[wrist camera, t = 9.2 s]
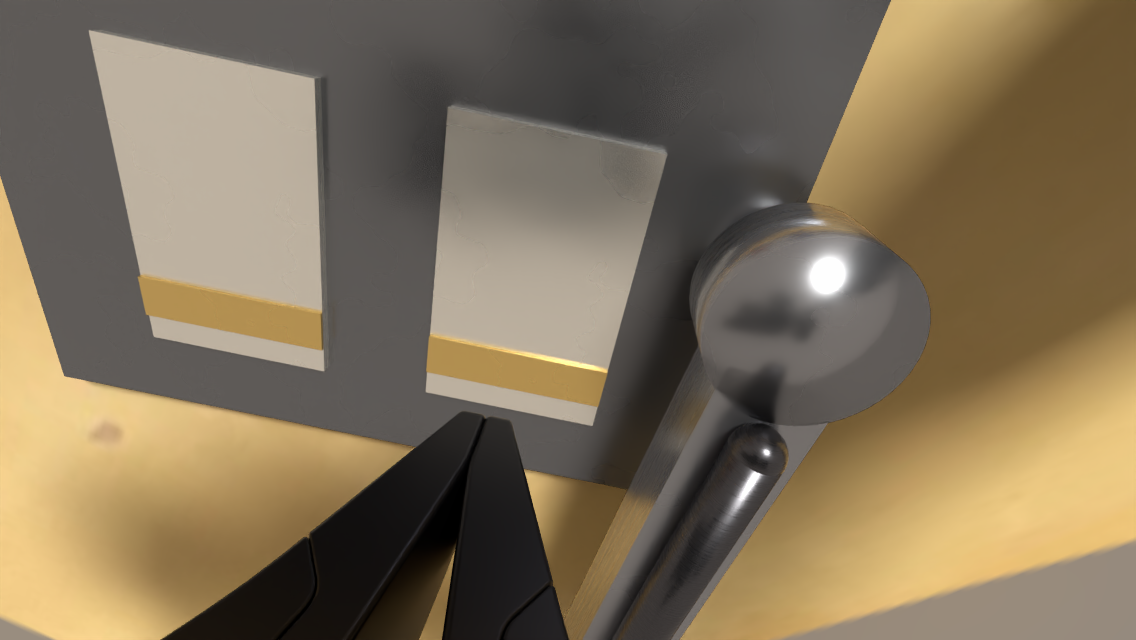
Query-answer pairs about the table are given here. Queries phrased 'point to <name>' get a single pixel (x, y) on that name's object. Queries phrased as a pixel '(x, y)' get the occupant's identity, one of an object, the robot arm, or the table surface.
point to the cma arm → (751, 406)
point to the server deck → (408, 198)
